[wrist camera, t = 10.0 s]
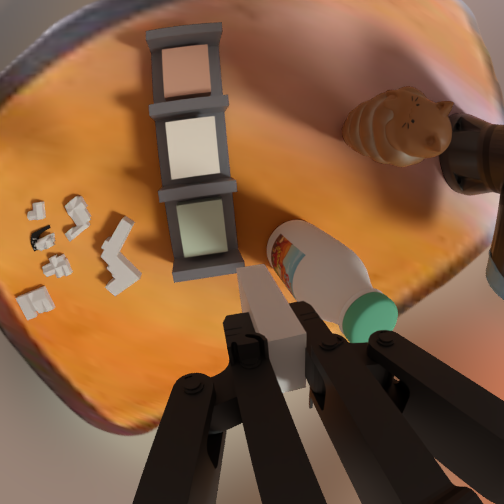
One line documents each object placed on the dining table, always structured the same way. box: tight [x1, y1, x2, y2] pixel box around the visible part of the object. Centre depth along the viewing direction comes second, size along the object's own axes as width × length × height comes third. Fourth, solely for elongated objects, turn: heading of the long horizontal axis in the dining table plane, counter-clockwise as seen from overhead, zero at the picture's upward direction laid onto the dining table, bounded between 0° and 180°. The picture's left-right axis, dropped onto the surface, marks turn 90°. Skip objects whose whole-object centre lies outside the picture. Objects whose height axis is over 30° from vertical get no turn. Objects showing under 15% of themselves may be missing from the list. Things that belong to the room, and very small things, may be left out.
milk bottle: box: [267, 220, 398, 343], centre depth 29 cm, size 8×8×20 cm
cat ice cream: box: [342, 86, 454, 167], centre depth 26 cm, size 9×8×18 cm
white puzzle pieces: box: [16, 196, 142, 320], centre depth 31 cm, size 20×24×2 cm
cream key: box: [165, 116, 220, 179], centre depth 28 cm, size 5×6×2 cm
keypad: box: [146, 22, 245, 283], centre depth 29 cm, size 8×28×6 cm, turn 5°
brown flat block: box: [162, 44, 211, 102], centre depth 27 cm, size 5×6×2 cm
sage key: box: [176, 196, 228, 258], centre depth 33 cm, size 5×6×2 cm
